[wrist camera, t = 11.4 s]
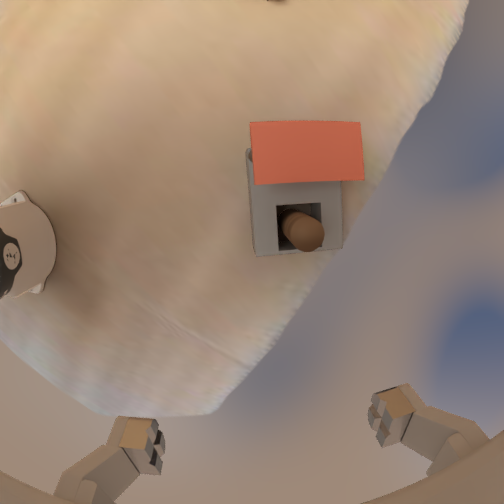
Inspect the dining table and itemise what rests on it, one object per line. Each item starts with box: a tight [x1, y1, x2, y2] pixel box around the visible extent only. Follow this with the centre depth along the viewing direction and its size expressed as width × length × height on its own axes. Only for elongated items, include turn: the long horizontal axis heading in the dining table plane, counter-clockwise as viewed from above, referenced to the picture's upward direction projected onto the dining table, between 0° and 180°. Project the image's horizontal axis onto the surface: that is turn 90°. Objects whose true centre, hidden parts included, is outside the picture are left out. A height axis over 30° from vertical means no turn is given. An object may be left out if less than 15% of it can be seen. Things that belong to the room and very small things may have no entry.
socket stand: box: [246, 121, 364, 257], centre depth 35 cm, size 12×16×12 cm
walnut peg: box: [278, 208, 325, 252], centre depth 37 cm, size 4×4×10 cm
